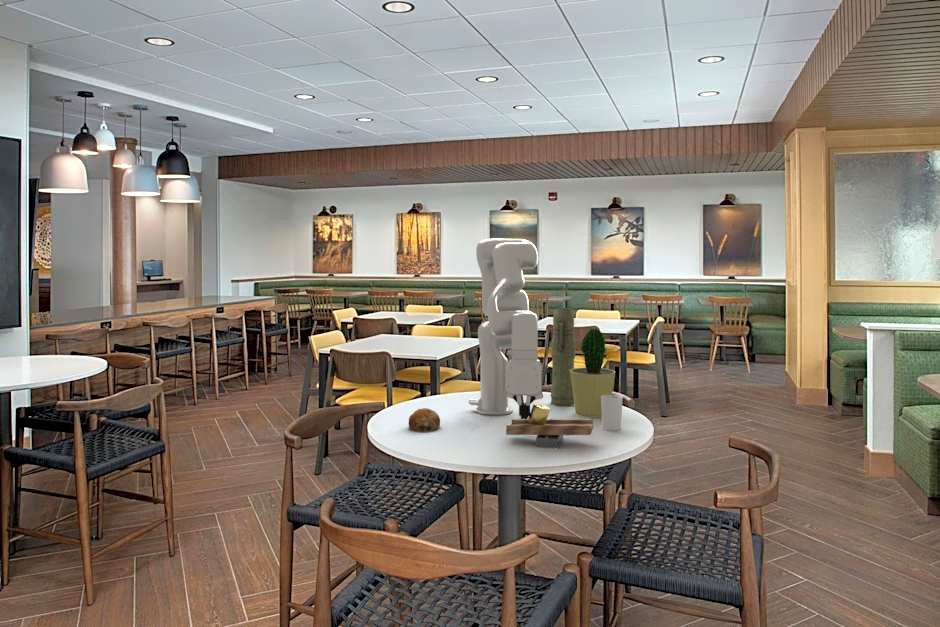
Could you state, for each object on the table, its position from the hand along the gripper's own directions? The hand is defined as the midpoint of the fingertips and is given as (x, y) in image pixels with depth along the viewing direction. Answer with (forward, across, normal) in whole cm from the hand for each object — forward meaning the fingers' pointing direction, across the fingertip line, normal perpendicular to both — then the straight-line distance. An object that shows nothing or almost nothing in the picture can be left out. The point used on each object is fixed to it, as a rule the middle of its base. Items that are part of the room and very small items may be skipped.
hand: (524, 418), depth 206 cm
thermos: (+6, +2, +58) cm, 59 cm away
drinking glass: (+7, +22, +24) cm, 34 cm away
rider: (+1, +3, +1) cm, 4 cm away
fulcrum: (+7, +7, +2) cm, 10 cm away
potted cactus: (+6, +14, +44) cm, 46 cm away
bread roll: (+7, -34, +8) cm, 35 cm away
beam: (+3, +7, +1) cm, 8 cm away
